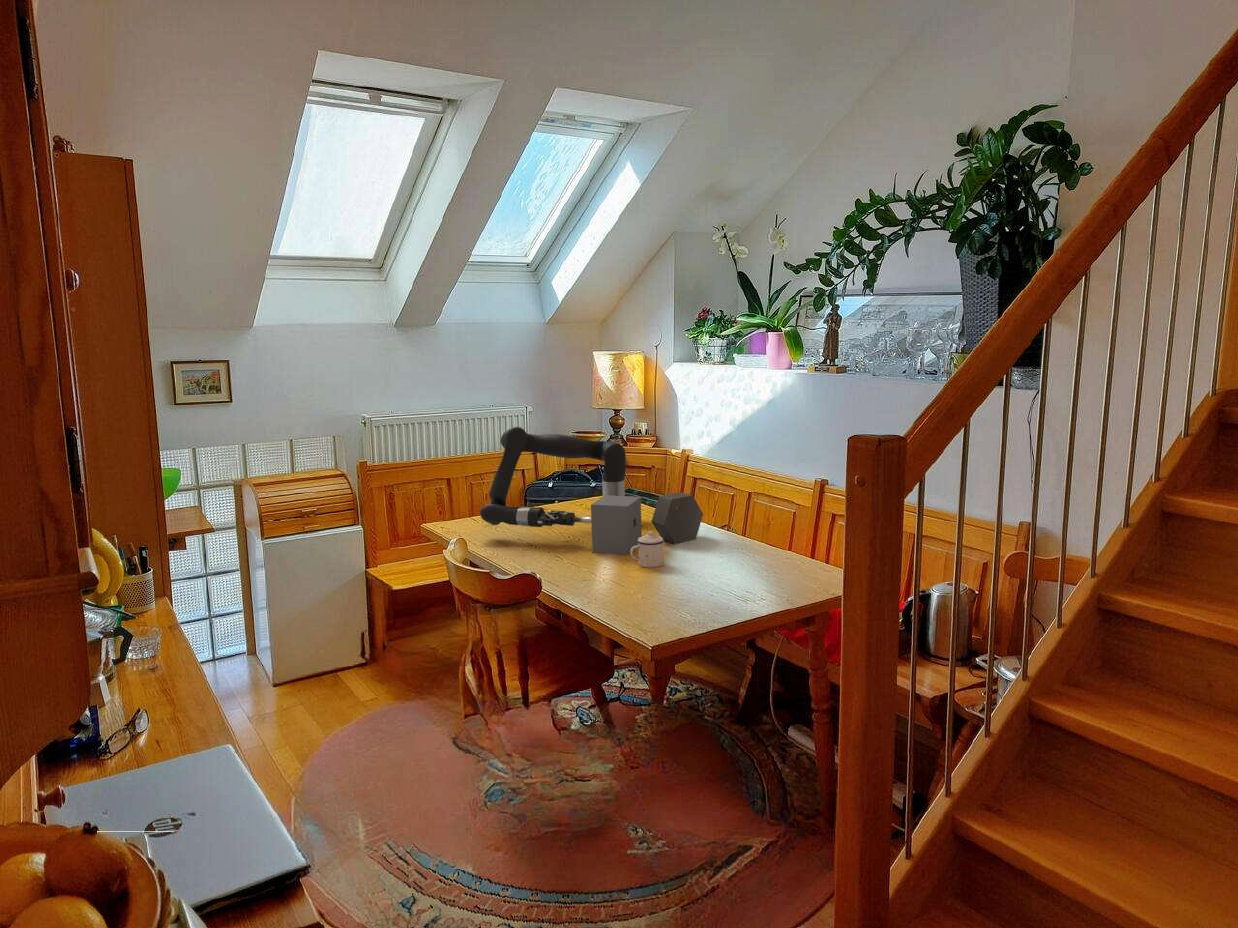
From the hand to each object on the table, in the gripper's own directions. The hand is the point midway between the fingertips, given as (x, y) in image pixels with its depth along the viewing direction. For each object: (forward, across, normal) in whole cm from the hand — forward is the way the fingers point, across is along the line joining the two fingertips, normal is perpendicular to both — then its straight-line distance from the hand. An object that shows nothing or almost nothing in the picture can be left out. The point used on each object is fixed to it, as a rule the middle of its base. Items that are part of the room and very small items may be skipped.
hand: (569, 519), depth 325 cm
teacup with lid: (+36, -18, +10) cm, 41 cm away
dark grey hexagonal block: (+38, +16, +10) cm, 42 cm away
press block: (+19, 0, +10) cm, 21 cm away
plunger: (+6, 0, +2) cm, 6 cm away
